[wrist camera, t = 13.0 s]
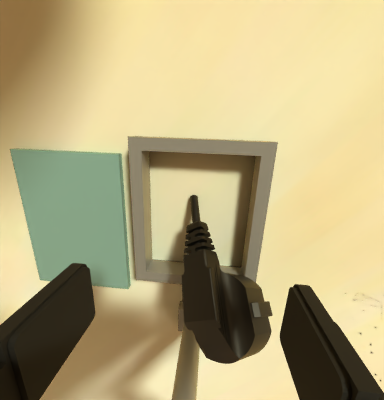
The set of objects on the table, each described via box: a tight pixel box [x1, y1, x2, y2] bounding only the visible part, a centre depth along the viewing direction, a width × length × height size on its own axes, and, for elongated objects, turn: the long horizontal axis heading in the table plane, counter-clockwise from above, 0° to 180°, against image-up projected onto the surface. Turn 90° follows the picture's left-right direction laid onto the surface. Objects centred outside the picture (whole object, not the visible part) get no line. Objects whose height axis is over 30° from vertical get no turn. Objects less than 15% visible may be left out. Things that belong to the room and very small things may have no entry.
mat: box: [10, 149, 130, 289], centre depth 20 cm, size 14×10×1 cm
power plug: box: [182, 195, 272, 364], centre depth 17 cm, size 6×8×12 cm
